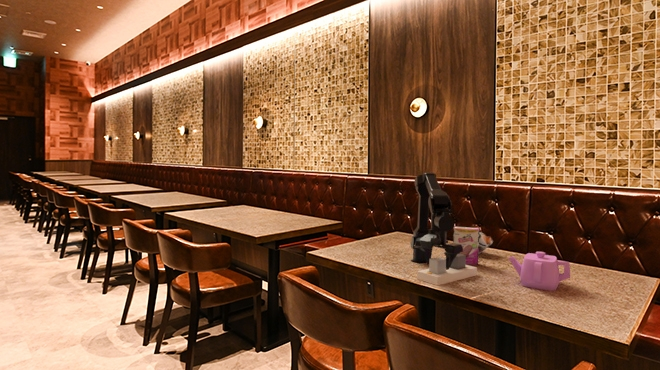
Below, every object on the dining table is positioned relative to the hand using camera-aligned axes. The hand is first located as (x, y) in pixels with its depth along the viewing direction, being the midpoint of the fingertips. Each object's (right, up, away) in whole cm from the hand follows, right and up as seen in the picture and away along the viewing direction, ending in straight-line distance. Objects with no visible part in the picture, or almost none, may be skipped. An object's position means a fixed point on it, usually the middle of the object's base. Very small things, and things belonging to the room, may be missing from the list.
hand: (437, 267), depth 156 cm
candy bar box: (+20, -4, +26) cm, 33 cm away
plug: (0, -5, 0) cm, 5 cm away
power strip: (+5, -5, +4) cm, 8 cm away
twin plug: (+10, -5, +7) cm, 13 cm away
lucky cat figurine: (+31, -3, +48) cm, 57 cm away
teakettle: (+38, -6, -2) cm, 38 cm away
